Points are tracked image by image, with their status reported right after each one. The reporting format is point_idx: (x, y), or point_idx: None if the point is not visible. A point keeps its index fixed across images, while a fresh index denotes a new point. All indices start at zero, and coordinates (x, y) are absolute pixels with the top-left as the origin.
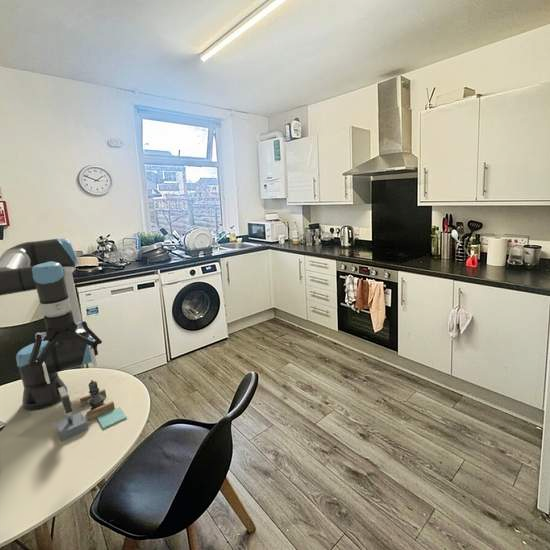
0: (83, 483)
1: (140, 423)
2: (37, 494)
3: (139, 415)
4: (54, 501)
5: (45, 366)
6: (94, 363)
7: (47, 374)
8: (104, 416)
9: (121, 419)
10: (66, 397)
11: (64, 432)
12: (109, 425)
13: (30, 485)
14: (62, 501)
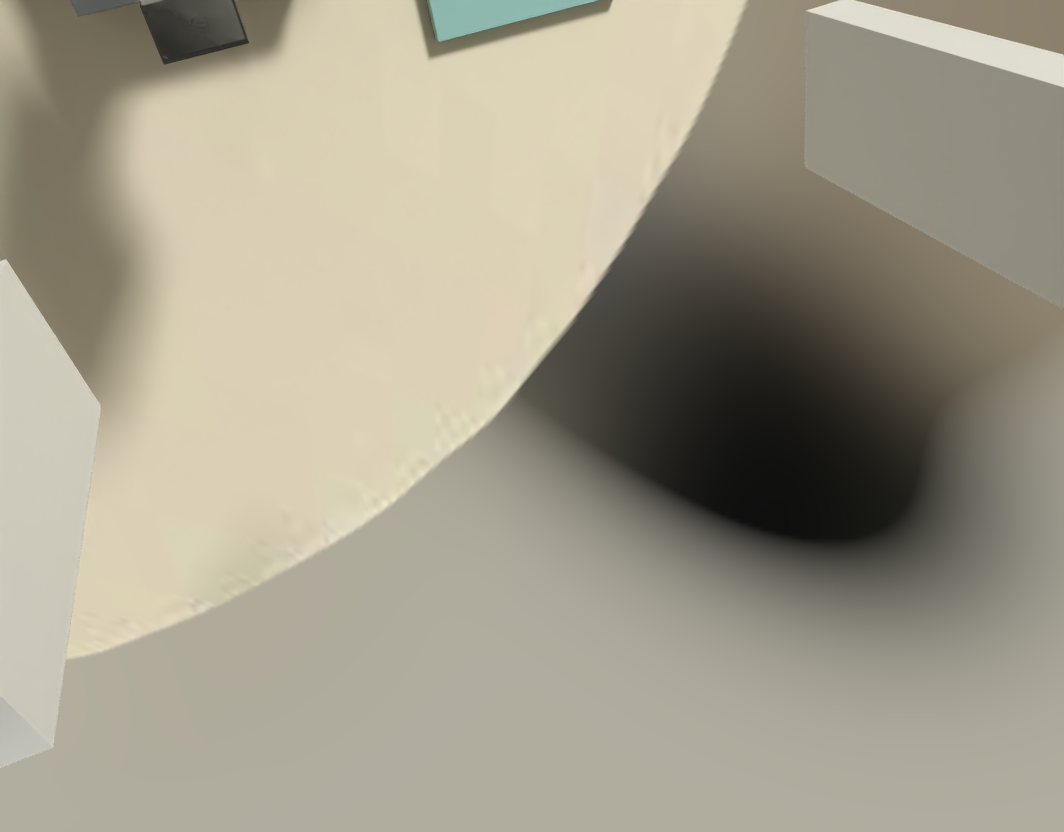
0: (334, 495)
1: (682, 125)
2: None
3: (702, 11)
4: (202, 555)
5: (48, 702)
6: (847, 183)
7: (71, 532)
8: None
9: (581, 3)
10: (217, 50)
11: (119, 3)
12: (486, 26)
13: None
14: (244, 565)
